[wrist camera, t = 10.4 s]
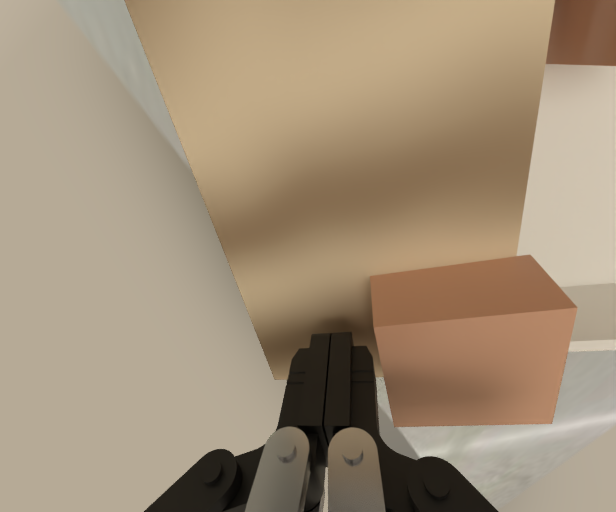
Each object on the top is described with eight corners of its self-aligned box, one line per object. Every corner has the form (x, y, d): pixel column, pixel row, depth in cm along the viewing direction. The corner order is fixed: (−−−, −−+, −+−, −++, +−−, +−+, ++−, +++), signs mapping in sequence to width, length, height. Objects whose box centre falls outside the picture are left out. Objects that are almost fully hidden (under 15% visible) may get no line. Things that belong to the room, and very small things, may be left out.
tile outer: (370, 275, 11) (373, 327, 9) (530, 254, 10) (578, 307, 8) (388, 369, 14) (394, 427, 11) (518, 361, 12) (552, 423, 10)
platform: (164, -118, 10) (27, -245, 6) (493, -255, 8) (646, -598, 4) (292, 308, 19) (274, 379, 15) (463, 296, 17) (498, 374, 13)
